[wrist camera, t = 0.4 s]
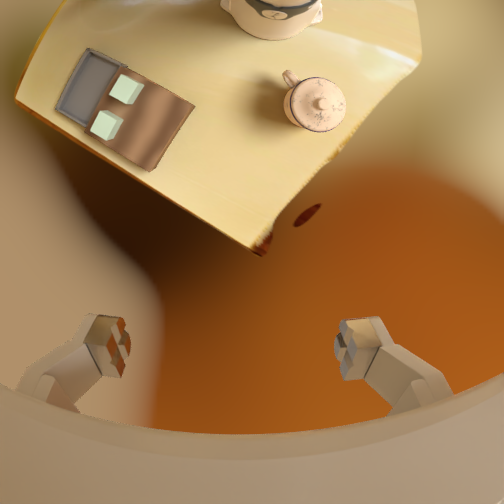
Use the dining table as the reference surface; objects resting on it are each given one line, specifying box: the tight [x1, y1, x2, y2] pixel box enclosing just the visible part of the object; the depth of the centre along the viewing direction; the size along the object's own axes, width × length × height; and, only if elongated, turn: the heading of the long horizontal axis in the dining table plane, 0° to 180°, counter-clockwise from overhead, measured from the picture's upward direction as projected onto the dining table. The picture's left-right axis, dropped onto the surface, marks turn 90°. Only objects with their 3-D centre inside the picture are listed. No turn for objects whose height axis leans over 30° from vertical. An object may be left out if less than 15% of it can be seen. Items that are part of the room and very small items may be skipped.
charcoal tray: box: [55, 48, 128, 128], centre depth 39 cm, size 10×14×2 cm
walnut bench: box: [85, 66, 195, 172], centre depth 43 cm, size 16×14×4 cm
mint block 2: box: [109, 74, 144, 104], centre depth 37 cm, size 4×4×3 cm
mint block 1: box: [90, 110, 123, 141], centre depth 40 cm, size 4×4×3 cm
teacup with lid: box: [282, 70, 346, 132], centre depth 39 cm, size 12×9×12 cm
